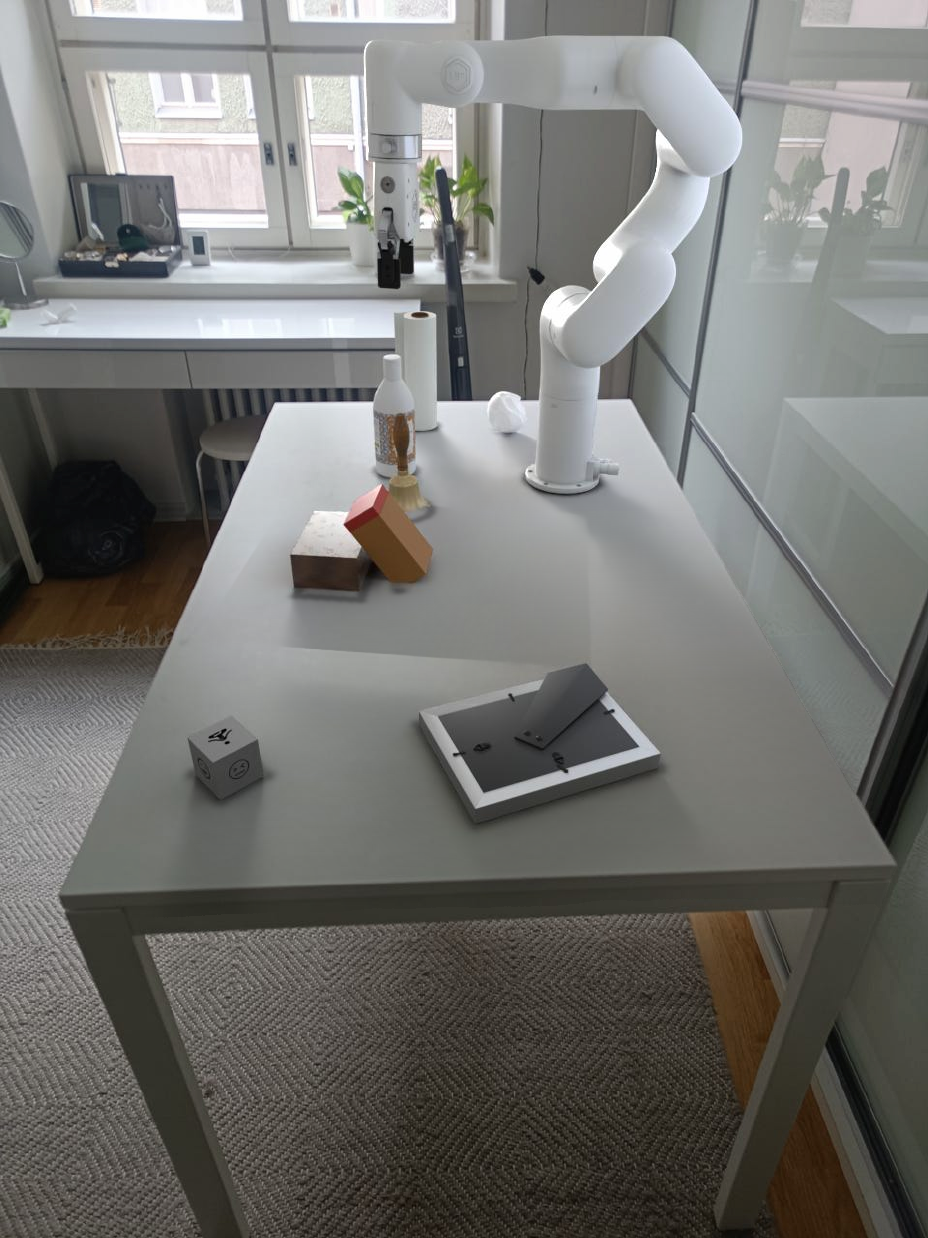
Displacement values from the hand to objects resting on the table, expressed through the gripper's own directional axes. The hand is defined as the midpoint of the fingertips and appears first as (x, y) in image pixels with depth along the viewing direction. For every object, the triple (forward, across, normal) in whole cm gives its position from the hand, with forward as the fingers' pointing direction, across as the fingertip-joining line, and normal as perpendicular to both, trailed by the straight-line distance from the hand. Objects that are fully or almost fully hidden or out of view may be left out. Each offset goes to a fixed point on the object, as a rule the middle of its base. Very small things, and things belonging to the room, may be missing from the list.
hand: (396, 280), depth 128 cm
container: (+34, -28, -5) cm, 44 cm away
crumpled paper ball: (+33, +29, -15) cm, 47 cm away
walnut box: (+34, -28, +3) cm, 44 cm away
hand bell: (+34, -7, -2) cm, 35 cm away
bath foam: (+34, +8, +2) cm, 35 cm away
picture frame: (+34, -60, -27) cm, 74 cm away
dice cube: (+34, -70, +4) cm, 78 cm away
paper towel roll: (+34, +30, +2) cm, 45 cm away
